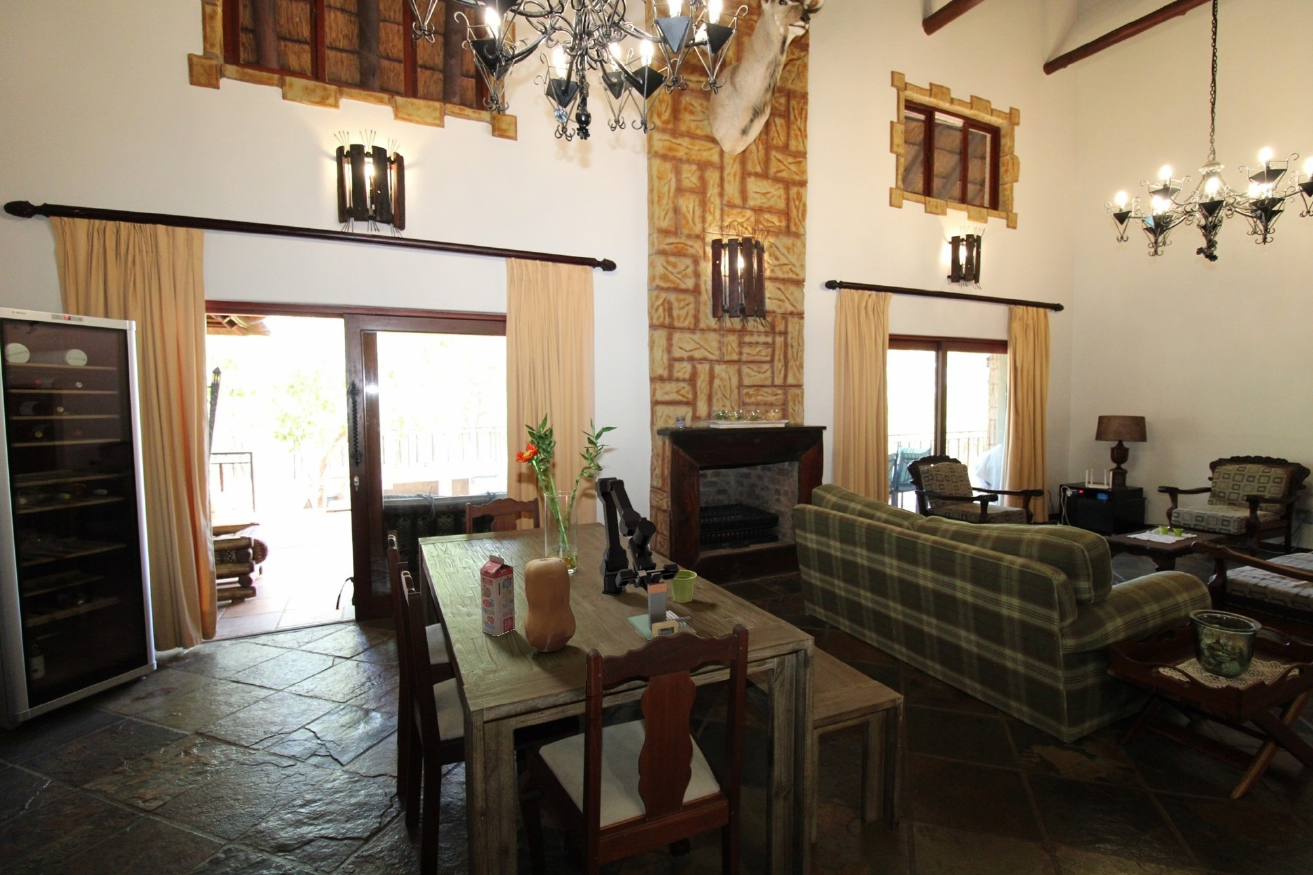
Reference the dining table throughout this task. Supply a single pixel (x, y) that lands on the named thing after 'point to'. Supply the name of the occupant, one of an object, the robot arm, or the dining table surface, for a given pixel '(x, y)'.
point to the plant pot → (683, 586)
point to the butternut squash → (548, 604)
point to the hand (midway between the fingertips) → (655, 600)
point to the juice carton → (497, 596)
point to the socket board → (645, 625)
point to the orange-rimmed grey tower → (659, 607)
